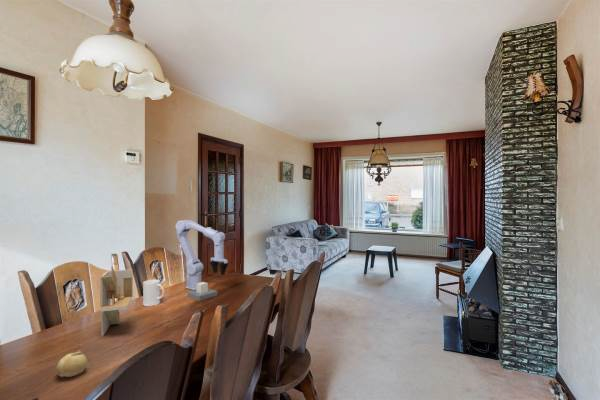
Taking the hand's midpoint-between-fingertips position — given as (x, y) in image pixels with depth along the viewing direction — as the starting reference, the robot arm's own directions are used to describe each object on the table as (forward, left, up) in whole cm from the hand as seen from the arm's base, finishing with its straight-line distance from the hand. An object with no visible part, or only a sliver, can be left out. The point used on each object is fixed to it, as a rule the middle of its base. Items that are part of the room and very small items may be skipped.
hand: (219, 273), depth 192 cm
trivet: (+3, -14, -10) cm, 17 cm away
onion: (+40, -87, -10) cm, 96 cm away
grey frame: (+14, -64, -11) cm, 66 cm away
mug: (-6, -38, -10) cm, 40 cm away
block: (+3, -14, -8) cm, 16 cm away
